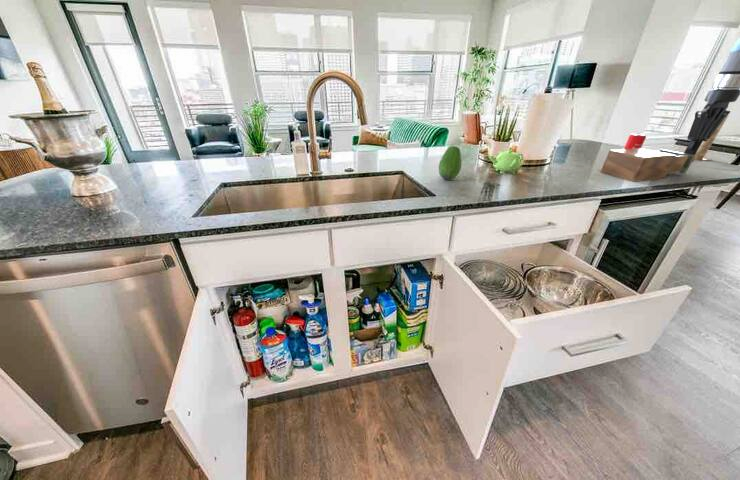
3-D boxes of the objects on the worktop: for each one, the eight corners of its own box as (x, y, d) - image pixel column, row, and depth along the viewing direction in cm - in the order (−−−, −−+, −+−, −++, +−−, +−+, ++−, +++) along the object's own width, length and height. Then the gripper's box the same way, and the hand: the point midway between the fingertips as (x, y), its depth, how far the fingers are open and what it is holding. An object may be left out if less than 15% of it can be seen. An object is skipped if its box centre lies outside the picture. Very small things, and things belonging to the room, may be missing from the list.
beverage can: (631, 163, 119) (645, 133, 113) (634, 165, 115) (648, 135, 109) (616, 161, 121) (629, 132, 115) (618, 164, 117) (631, 134, 111)
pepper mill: (701, 157, 123) (729, 109, 114) (704, 159, 121) (733, 110, 111) (689, 156, 125) (715, 109, 116) (691, 158, 123) (718, 110, 113)
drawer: (661, 165, 112) (670, 148, 109) (695, 172, 102) (705, 154, 99) (626, 168, 109) (634, 150, 105) (657, 176, 99) (667, 157, 96)
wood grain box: (629, 169, 110) (639, 148, 106) (664, 178, 100) (676, 155, 95) (600, 172, 107) (609, 150, 103) (632, 181, 97) (644, 157, 93)
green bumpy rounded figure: (525, 171, 109) (531, 149, 105) (513, 177, 102) (519, 154, 98) (497, 166, 116) (501, 145, 112) (485, 171, 109) (489, 150, 105)
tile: (694, 157, 127) (695, 156, 126) (712, 161, 120) (712, 159, 120) (680, 157, 126) (681, 156, 126) (697, 161, 120) (698, 160, 120)
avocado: (459, 183, 97) (464, 148, 91) (436, 181, 99) (440, 147, 93) (459, 176, 103) (464, 143, 97) (438, 175, 105) (441, 143, 99)
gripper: (725, 88, 98) (687, 155, 110) (698, 88, 96) (662, 157, 108) (755, 88, 92) (711, 159, 104) (726, 89, 90) (685, 161, 101)
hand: (686, 158), depth 106 cm, fingers closed
